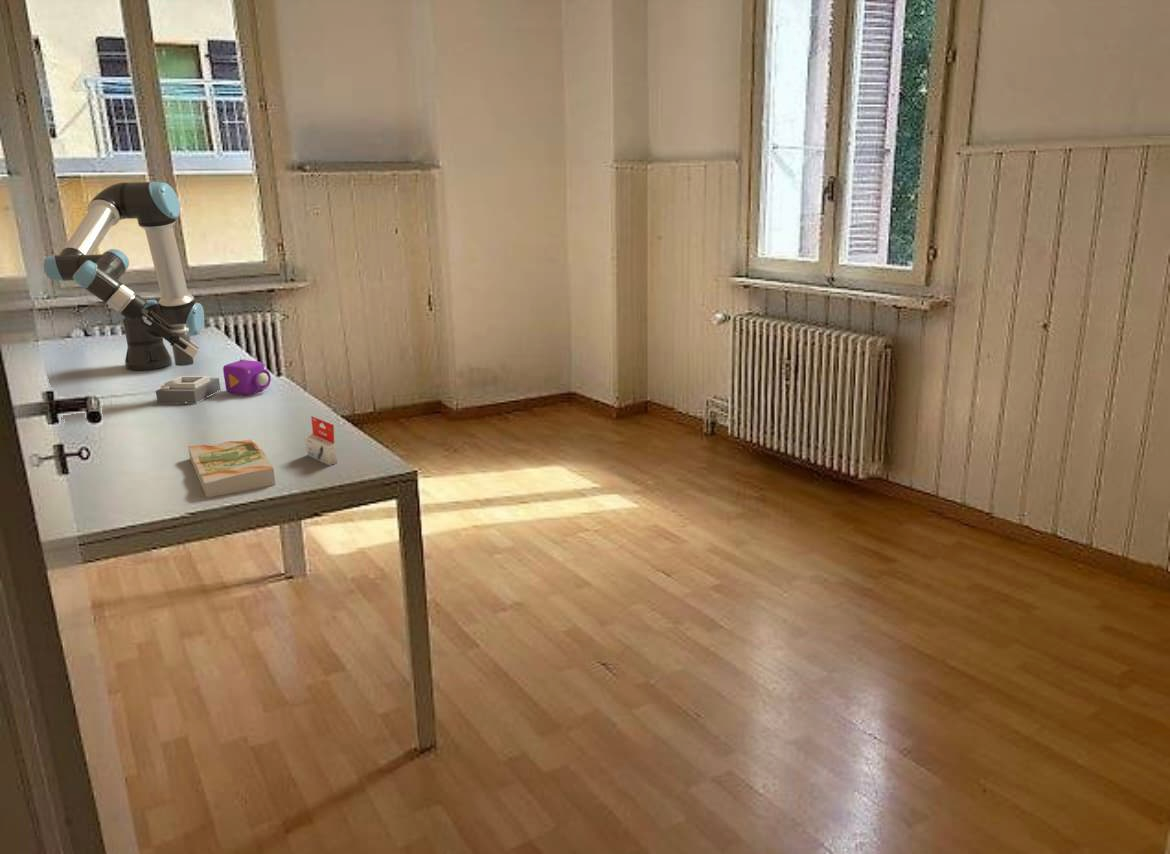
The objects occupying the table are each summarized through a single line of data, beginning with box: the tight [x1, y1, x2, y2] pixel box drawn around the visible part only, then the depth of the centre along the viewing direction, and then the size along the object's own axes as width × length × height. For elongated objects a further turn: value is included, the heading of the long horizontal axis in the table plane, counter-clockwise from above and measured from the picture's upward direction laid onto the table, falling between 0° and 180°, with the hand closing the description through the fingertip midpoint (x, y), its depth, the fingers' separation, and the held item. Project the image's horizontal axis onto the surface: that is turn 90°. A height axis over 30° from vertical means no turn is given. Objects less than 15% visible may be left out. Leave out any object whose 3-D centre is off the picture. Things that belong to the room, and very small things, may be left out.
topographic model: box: [187, 439, 276, 498], centre depth 204 cm, size 30×14×5 cm, turn 30°
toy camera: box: [222, 357, 272, 396], centre depth 273 cm, size 11×14×10 cm
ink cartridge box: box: [304, 416, 338, 466], centre depth 210 cm, size 2×11×10 cm, turn 45°
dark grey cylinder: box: [169, 324, 194, 367], centre depth 265 cm, size 5×5×12 cm
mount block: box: [155, 375, 221, 404], centre depth 269 cm, size 16×12×6 cm
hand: (195, 352), depth 267 cm, fingers closed on dark grey cylinder, 5 cm apart
